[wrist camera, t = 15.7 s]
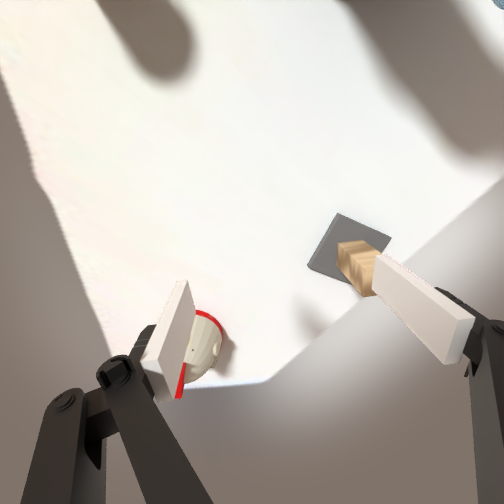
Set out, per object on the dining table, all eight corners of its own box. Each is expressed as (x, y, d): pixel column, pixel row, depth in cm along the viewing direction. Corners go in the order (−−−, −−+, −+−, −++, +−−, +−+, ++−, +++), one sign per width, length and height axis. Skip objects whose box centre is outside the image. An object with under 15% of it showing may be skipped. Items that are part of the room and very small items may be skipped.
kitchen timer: (226, 313, 53) (222, 370, 39) (218, 357, 58) (212, 421, 44) (162, 306, 51) (135, 364, 37) (161, 352, 56) (136, 418, 43)
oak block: (337, 243, 45) (365, 269, 35) (362, 239, 45) (398, 265, 35) (336, 265, 47) (363, 297, 37) (360, 262, 47) (393, 293, 37)
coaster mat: (337, 212, 44) (340, 214, 43) (387, 235, 47) (391, 237, 46) (307, 264, 49) (309, 268, 47) (354, 282, 51) (357, 286, 50)
